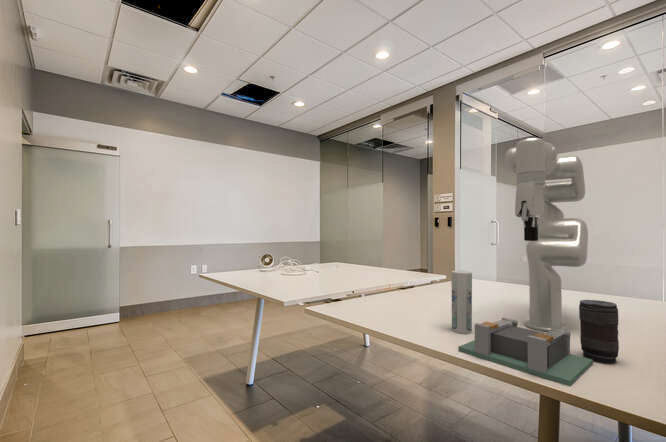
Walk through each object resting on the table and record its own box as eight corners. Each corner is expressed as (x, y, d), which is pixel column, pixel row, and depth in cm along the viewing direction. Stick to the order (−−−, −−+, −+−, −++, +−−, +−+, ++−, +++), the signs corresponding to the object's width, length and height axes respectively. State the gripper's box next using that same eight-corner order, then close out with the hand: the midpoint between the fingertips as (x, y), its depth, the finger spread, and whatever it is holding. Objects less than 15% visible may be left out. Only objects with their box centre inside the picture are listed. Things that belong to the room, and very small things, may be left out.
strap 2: (552, 333, 86) (552, 326, 87) (566, 336, 84) (566, 329, 84) (531, 343, 77) (531, 336, 78) (546, 347, 75) (546, 339, 75)
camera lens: (580, 350, 91) (579, 297, 92) (618, 358, 86) (617, 302, 86) (579, 359, 85) (578, 302, 85) (620, 367, 80) (619, 307, 80)
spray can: (451, 327, 112) (451, 270, 113) (471, 329, 110) (471, 271, 111) (451, 332, 106) (451, 272, 107) (472, 335, 104) (472, 273, 105)
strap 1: (502, 322, 97) (502, 316, 97) (513, 325, 94) (513, 319, 94) (478, 330, 88) (479, 323, 88) (490, 333, 85) (490, 326, 85)
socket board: (489, 337, 102) (489, 310, 102) (592, 364, 82) (592, 330, 82) (458, 350, 90) (458, 320, 90) (569, 386, 70) (569, 346, 70)
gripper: (526, 184, 104) (527, 240, 104) (506, 178, 95) (507, 240, 94) (553, 181, 99) (554, 241, 98) (535, 175, 89) (535, 241, 89)
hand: (531, 240), depth 96 cm, fingers closed
